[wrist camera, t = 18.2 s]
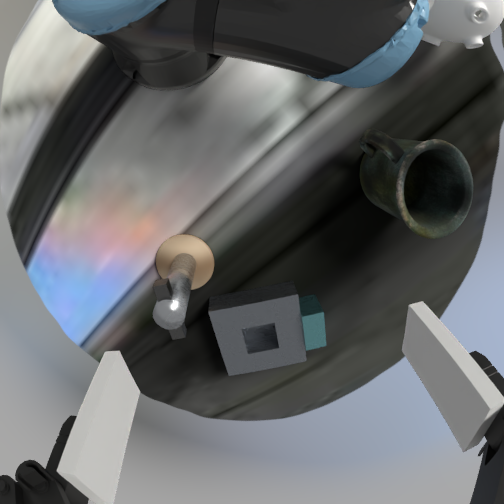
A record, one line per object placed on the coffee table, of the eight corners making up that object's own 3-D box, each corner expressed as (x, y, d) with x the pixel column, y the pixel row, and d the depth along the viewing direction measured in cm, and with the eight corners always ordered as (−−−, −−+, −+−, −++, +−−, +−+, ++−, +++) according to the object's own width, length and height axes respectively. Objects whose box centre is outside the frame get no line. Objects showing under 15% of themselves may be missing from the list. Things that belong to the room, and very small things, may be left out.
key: (180, 286, 43) (164, 343, 31) (167, 244, 41) (143, 290, 29) (201, 282, 43) (192, 339, 31) (190, 239, 41) (174, 284, 29)
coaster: (149, 241, 41) (148, 242, 40) (206, 228, 41) (206, 229, 40) (166, 292, 44) (165, 294, 43) (220, 282, 44) (220, 284, 43)
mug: (393, 226, 43) (438, 257, 31) (320, 164, 39) (354, 178, 28) (433, 170, 40) (486, 186, 29) (365, 102, 36) (412, 95, 25)
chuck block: (209, 297, 45) (207, 315, 40) (312, 276, 44) (321, 293, 40) (228, 359, 49) (228, 380, 44) (319, 341, 49) (327, 360, 44)
